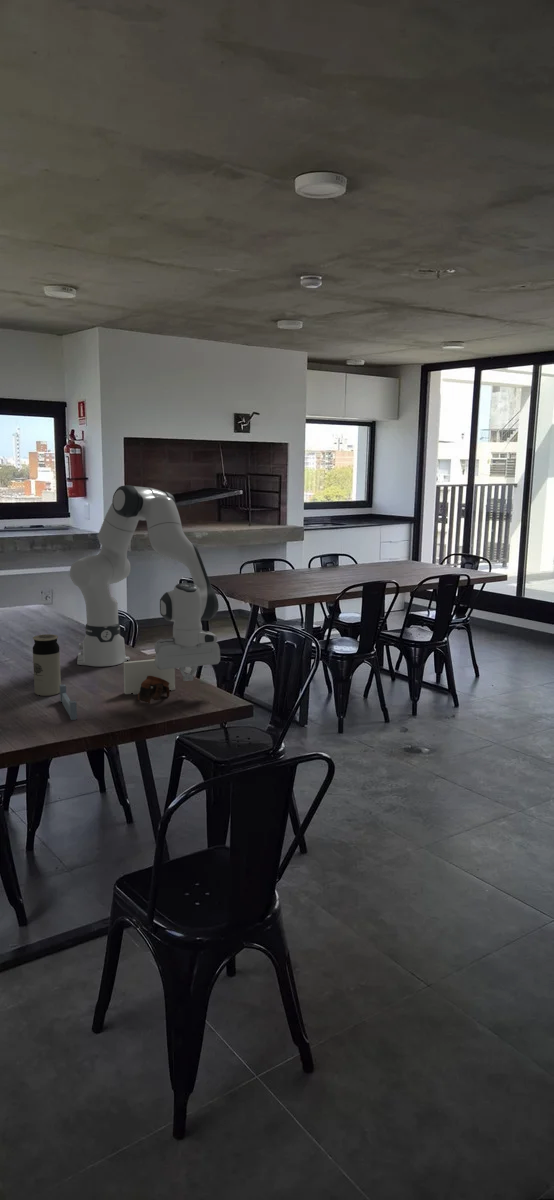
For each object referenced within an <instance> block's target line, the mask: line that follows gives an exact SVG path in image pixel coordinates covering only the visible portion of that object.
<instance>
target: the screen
mask: <svg viewBox="0 0 554 1200" xmlns="http://www.w3.org/2000/svg"><path fill="white" fill-rule="evenodd" d="M147 676H154V677H158V678H161V679H164V680H166V681H167V682H169V683H170V684H169V686H168V687H169V690H171V691H175V690H176V668H172V669H162V670H160V669H158V668H157V667H156V666H155V658H153V659H151V658H150V659H142V660H128V661H124V662H123V693H124V695H138V693H139V692H140V688H141V684H142V682H143V681H144V680H146V679H147ZM151 688H153V687H152V686H151ZM131 693H133V694H131Z"/></svg>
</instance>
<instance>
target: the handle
mask: <svg viewBox="0 0 554 1200" xmlns="http://www.w3.org/2000/svg"><path fill="white" fill-rule="evenodd" d="M59 700H60V701H59V702H60V703H61V702H62V703H61V704H62V705H63V707H64V709H65V711H66V713H67V714H68V716H69V719H70V720H71V721H76V719H77V720H78V710H77V709H78V708H77V701H76V700H71V699H70V697H69V695H68V694H67V685H66V684H65V683H63V684H62V683H61V685H60V693H59Z"/></svg>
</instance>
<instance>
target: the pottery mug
mask: <svg viewBox="0 0 554 1200" xmlns="http://www.w3.org/2000/svg"><path fill="white" fill-rule="evenodd" d="M169 684H170V683H169V682H167V681H166V680H164V679H161V678H158V677H154V676H147V679H146V680H144V681H143V682H142V684H141V688H140V692H139V693H138V694H137V700H138V701H141V702H144V703H147V702H148V704H151V701H153V700H154V701H159V700H160V699H161V697H162V693H163V692H164V693H166V698H168V697H170V693H171V692H170V691H169V687H168V686H169ZM151 686H152V687H153V688H151ZM151 699H153V700H151Z"/></svg>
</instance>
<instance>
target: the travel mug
mask: <svg viewBox="0 0 554 1200" xmlns="http://www.w3.org/2000/svg"><path fill="white" fill-rule="evenodd" d="M32 639H33V641H34V645H33V646H32V661H33V663H32V665H33V680H34V681H33V683H34V684H33V685H34V694H35V695H37V696H39V695H40V696H41V697H49V696H50V697H51V696H55V695H58V694H60V685H62V682H61V657H60V654H61V653H60V644H59V642H58V639H59V635H57V634H53V633H52V634H50V633H49V634H48V633H47V634H37V635H35V636H33V637H32Z"/></svg>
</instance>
